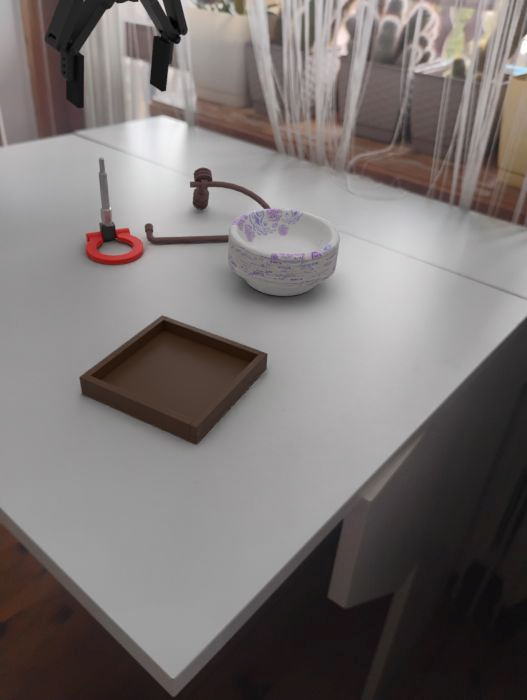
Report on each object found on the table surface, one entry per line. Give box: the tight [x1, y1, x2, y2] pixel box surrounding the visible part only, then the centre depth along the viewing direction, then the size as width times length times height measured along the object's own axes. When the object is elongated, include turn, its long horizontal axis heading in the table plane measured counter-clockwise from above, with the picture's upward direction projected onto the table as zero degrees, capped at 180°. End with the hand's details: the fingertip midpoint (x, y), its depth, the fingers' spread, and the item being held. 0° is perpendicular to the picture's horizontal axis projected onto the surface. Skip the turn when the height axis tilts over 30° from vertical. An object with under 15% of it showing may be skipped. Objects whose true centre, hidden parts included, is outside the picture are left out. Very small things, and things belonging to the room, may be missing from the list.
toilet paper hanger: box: [144, 167, 272, 245], centre depth 103 cm, size 22×8×14 cm
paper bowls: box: [227, 207, 341, 297], centre depth 87 cm, size 15×15×8 cm
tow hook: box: [85, 157, 145, 265], centre depth 90 cm, size 8×13×9 cm
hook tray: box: [79, 314, 268, 445], centre depth 69 cm, size 15×15×2 cm
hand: (118, 95), depth 85 cm, fingers open, 13 cm apart
